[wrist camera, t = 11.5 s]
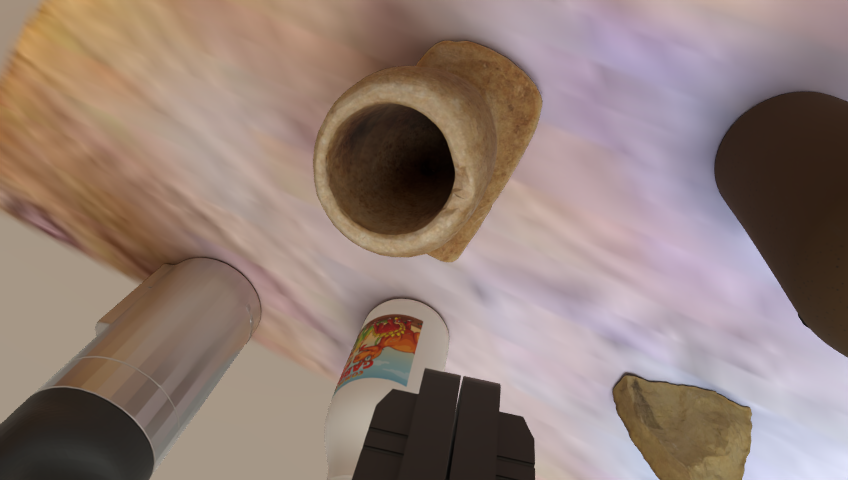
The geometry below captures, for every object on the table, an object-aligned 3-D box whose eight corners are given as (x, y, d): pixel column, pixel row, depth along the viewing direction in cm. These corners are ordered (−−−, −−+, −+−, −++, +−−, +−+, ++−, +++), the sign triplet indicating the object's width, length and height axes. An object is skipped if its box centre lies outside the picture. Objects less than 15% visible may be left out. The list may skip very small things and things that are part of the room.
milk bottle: (461, 312, 50) (426, 512, 32) (436, 378, 53) (391, 591, 36) (376, 283, 50) (293, 467, 32) (356, 351, 53) (272, 550, 36)
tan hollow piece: (413, 0, 39) (356, 25, 26) (564, 88, 40) (583, 155, 27) (327, 181, 46) (248, 274, 33) (458, 252, 47) (432, 370, 34)
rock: (578, 413, 50) (648, 496, 51) (638, 440, 41) (721, 538, 43) (658, 327, 52) (724, 407, 53) (730, 335, 44) (806, 431, 45)
